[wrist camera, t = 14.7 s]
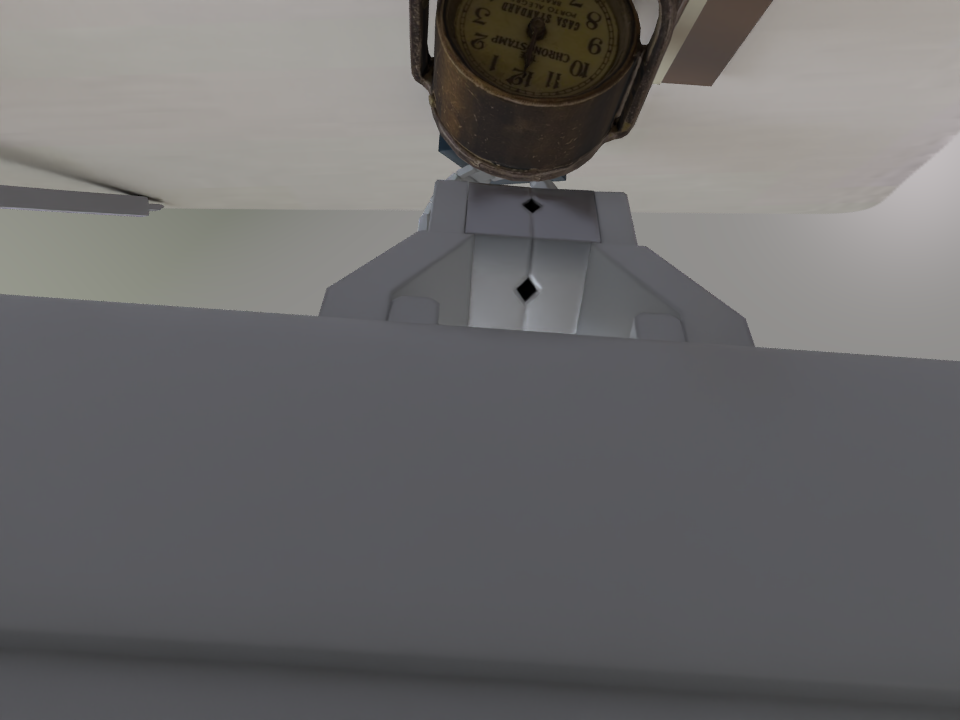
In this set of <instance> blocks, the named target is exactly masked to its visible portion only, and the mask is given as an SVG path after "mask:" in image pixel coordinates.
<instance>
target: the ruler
mask: <svg viewBox="0 0 960 720" xmlns="http://www.w3.org/2000/svg"><path fill="white" fill-rule="evenodd" d="M772 1H773V0H679V5H678V12H677V16H676V21H675V25H674V30H673V34H672V38H671V41H670V43H669V46H668V48H667V50H666V52H665V55H664V57H663V59H662V62H661V64H660V66H659V69H658V71H657V74H656V76H655V78H654V81H653V83H652V84H659V85H660V84H661V83H673V84H687V85H701V86H712V85H713V83H714V82H715V80H716V79H717V78H718V76H719V75H720V73H721V72H722V71H723V69H724V68H725V66H726V65H727V64H728V62H729V61H730V59H731V58H732V57H733V55H734V54H735V53H736V51H737V50H738V48H739V47H740V46H741V44H742V43H743V41H744V40H745V39H746V37H747V36H748V34H749V33H750V32H751V30H752V29H753V27H754V26H755V25H756V23H757V22H758V20H759V19H760V18H761V16H762V15H763V13H764V12H765V11H766V9H767V8H768V7H769V5H770V4H771V2H772Z"/></svg>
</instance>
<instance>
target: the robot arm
mask: <svg viewBox="0 0 960 720" xmlns="http://www.w3.org/2000/svg"><path fill="white" fill-rule="evenodd" d="M0 720H960V361H949V360H936V359H922V358H907V357H892V356H879V355H864V354H850V353H835V352H821V351H807V350H792V349H778V348H764V347H755V345H754V342H753V339H752V336H751V333H750V330H749V327H748V325H747V322H746V319H745V318H744V317H743V316H741V315H740V314H739V313H737V312H736V311H734V310H733V309H732V308H730V307H729V306H727V305H726V304H725V303H723V302H722V301H721V300H719V299H718V298H716V297H715V296H714V295H712V294H711V293H710V292H708V291H707V290H705V289H704V288H703V287H702V286H700V285H699V284H697V283H696V282H695V281H693V280H692V279H691V278H689V277H688V276H686V275H685V274H684V273H682V272H681V271H679V270H678V269H676V268H675V267H674V266H672V265H671V264H670V263H668V262H667V261H666V260H664V259H663V258H662V257H660V256H659V255H657V254H656V253H654V252H653V251H652V250H651V249H649V248H648V247H646V246H638V245H637V240H636V235H635V231H634V226H633V221H632V216H631V211H630V207H629V202H628V197H627V194H625V193H624V192H594V191H589V190H568V189H547V188H530V187H519V186H508V185H497V184H486V183H475V182H469V190H468V182H467V181H457V180H437V181H436V182H435V186H434V193H433V200H432V206H431V213H430V220H429V226H428V231H425V230H419V231H418V232H416V233H414V234H413V235H411V236H410V237H408V238H407V239H405V240H403V241H402V242H400V243H398V244H397V245H395V246H394V247H392V248H390V249H389V250H387V251H386V252H384V253H382V254H381V255H379V256H378V257H376V258H374V259H373V260H371V261H370V262H368V263H367V264H365V265H364V266H362V267H360V268H358V269H357V270H355V271H354V272H352V273H350V274H349V275H347V276H346V277H344V278H342V279H341V280H339V281H338V282H336V283H334V284H333V285H331V286H330V287H328V288H327V289H326V293H325V296H324V299H323V302H322V306H321V309H320V312H319V316H308V315H294V314H280V313H264V312H252V311H236V310H223V309H208V308H194V307H193V308H192V307H179V306H165V305H164V306H163V305H149V304H136V303H121V302H107V301H92V300H78V299H63V298H49V297H35V296H20V295H6V294H0Z"/></svg>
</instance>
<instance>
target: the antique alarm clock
mask: <svg viewBox="0 0 960 720" xmlns="http://www.w3.org/2000/svg"><path fill="white" fill-rule="evenodd" d="M658 2H659V17H658V21H657V24H656V28H655V31H654V33H653V35H652V37H651V40H650V42H649V44H647V45H641V42H640V30H641V27H640V23H639V18H638V14H637V12H636V9H635V7H634V4H633V2H632V0H438V1H437V10H436V20H435V47H434V57H431V56H430V54H429V52H428V45H427V37H428V16H429V0H409V12H410V51H411V69H412V75H413V77H414V79H415V80H416V81H417V82H419V83H420V84H422V85H423V86H424V87H425V88H426V89H427V90H428V91H429V94H430V95H429V103H430V105H431V109H432V114H433V117H434V119H435V122H436V124H437V127H438V129H439V132H440V134H441V136H442V137H443V138H444V140H445V141H446V142H447V143H448V145H449V146H450V147H451V148H452V150H453V151H454V152H455V153H456V154H457V156H458V157H459V158H461V159H462V160H464V161H465V162H466V163H468V164H469V165H471V166H472V167H474V168H476V169H478V170H480V171H482V172H485V173H487V174H489V175H491V176H495V177H498V178H502V179H506V180H510V181H536V182H540V181H545V180H550V179H555V178H557V177H560V176H563V175H566V174H568V173H570V172H572V171H574V170H576V169H578V168H579V167H581V166H582V165H583V164H585V163H586V162H587V161H588V160H590V159H591V158H592V157H593V155H594V154H595V153H596V152H597V150H598V149H599V148H600V147H601V146H602V145H603V144H604V143H606V142H609V141H611V140H614V139H619V138H622V137H624V136H626V135H627V134H628V133H629V132H630V130H631V129H632V128H633V126H634V125H635V122H636V120H637V118H638V115H639V113H640V111H641V108H642V106H643V104H644V101H645V99H646V97H647V94H648V92H649V90H650V88H651V85H652V83H653V81H654V78H655V76H656V74H657V71H658V69H659V66H660V64H661V62H662V59H663V57H664V55H665V52H666V50H667V48H668V46H669V43H670V41H671V38H672V34H673V30H674V25H675V21H676V16H677V12H678V5H679V0H658Z"/></svg>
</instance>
